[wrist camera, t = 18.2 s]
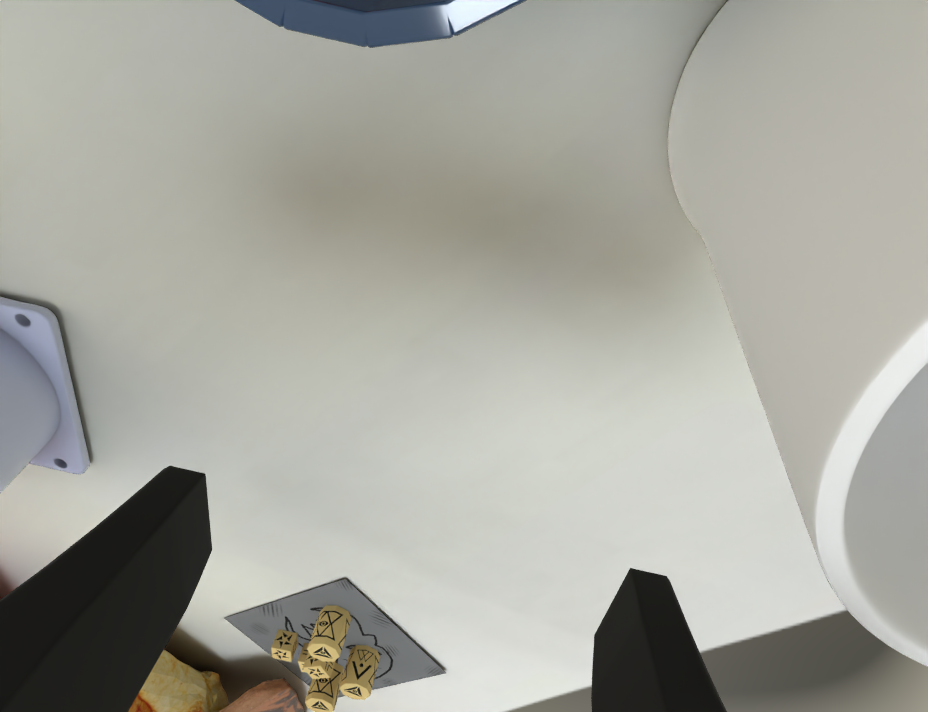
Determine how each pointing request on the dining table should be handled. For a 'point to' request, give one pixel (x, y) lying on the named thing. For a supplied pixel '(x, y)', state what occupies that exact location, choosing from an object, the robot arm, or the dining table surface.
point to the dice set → (335, 643)
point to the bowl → (379, 18)
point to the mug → (826, 268)
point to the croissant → (179, 689)
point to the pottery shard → (267, 699)
